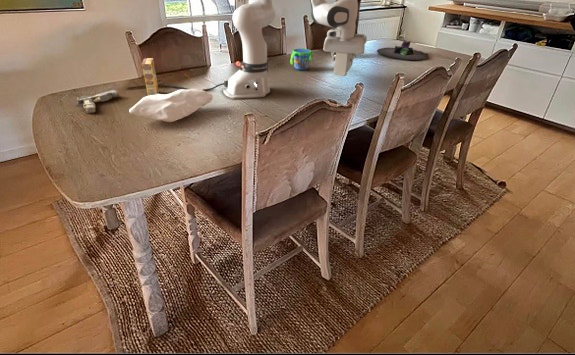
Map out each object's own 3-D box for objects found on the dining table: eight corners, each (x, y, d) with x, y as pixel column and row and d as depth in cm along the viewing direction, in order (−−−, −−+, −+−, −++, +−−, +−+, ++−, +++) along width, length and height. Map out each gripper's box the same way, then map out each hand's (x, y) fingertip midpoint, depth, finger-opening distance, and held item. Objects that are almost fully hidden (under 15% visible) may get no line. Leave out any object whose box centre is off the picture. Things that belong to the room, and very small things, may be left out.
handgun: (128, 97, 156) (111, 87, 164) (86, 107, 144) (70, 97, 152) (129, 103, 157) (113, 94, 165) (88, 114, 146) (72, 103, 154)
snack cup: (306, 64, 218) (307, 47, 212) (317, 69, 211) (318, 51, 205) (284, 68, 210) (285, 49, 205) (295, 72, 203) (295, 54, 198)
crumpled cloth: (117, 110, 146) (113, 90, 140) (195, 92, 166) (194, 73, 160) (143, 139, 134) (140, 118, 128) (223, 116, 154) (224, 96, 148)
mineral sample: (439, 56, 245) (442, 42, 241) (405, 62, 228) (407, 47, 223) (399, 48, 270) (401, 35, 266) (365, 53, 253) (367, 39, 248)
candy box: (157, 97, 164) (152, 63, 155) (147, 98, 163) (141, 63, 155) (158, 91, 171) (153, 57, 163) (149, 91, 170) (143, 58, 162)
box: (344, 76, 183) (347, 54, 177) (333, 74, 184) (336, 53, 178) (352, 64, 201) (354, 44, 195) (342, 63, 202) (344, 43, 196)
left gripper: (367, 33, 177) (363, 61, 184) (325, 30, 180) (323, 58, 187) (367, 35, 172) (363, 65, 179) (324, 32, 175) (321, 61, 182)
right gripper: (366, 20, 187) (361, 54, 196) (338, 18, 190) (335, 51, 200) (364, 23, 181) (359, 57, 190) (335, 20, 184) (332, 54, 194)
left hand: (342, 61), depth 183 cm, fingers open, 7 cm apart
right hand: (347, 54), depth 195 cm, fingers closed on box, 5 cm apart
